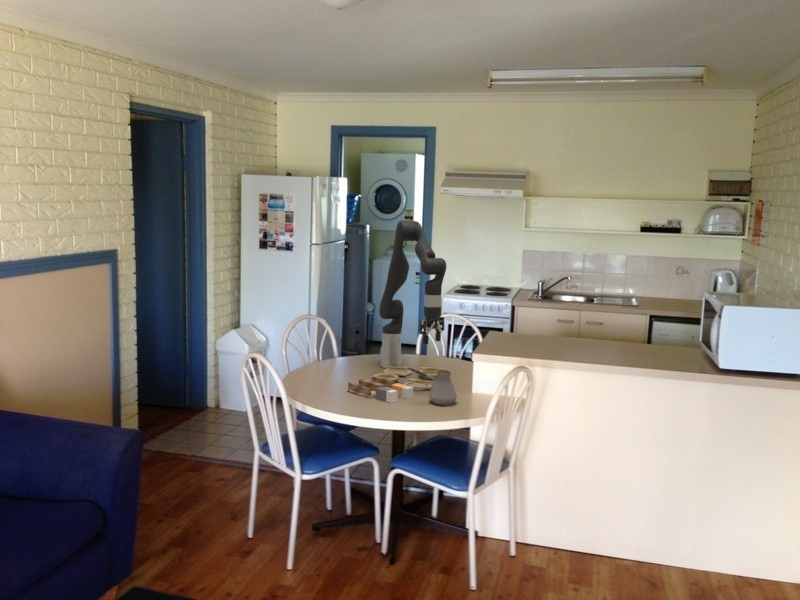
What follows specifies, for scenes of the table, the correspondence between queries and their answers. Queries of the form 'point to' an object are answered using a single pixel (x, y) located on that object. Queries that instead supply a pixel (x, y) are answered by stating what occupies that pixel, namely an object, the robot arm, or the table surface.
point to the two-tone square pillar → (386, 394)
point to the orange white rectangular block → (403, 390)
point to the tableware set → (401, 371)
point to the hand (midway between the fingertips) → (431, 342)
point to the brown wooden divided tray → (369, 386)
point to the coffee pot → (440, 387)
